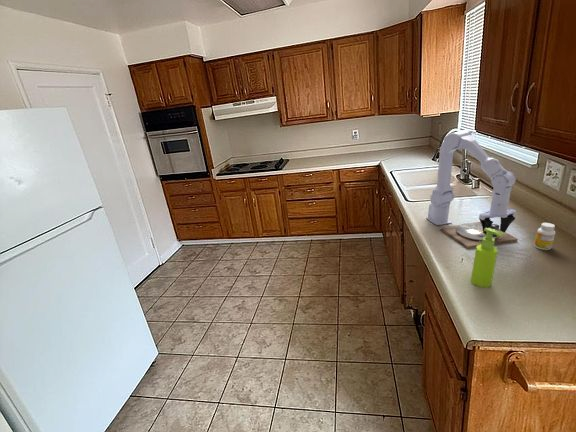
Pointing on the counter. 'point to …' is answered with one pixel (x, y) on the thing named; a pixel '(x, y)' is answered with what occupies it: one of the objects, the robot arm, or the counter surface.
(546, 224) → the supplement bottle
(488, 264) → the soap dispenser
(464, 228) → the dial
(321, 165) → the counter surface
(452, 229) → the dial base
